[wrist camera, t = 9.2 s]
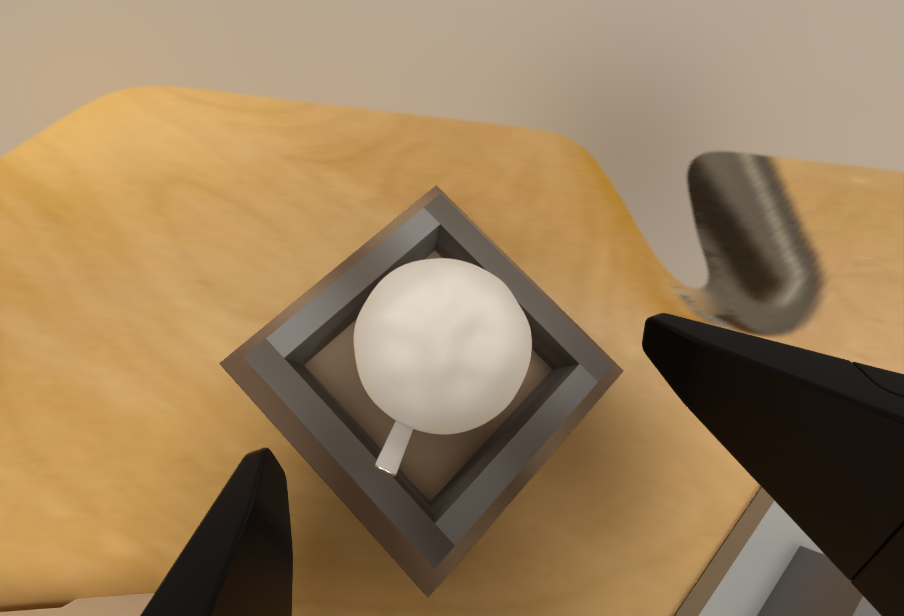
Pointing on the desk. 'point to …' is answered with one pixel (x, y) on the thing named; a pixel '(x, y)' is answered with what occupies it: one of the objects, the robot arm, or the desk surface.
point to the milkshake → (440, 350)
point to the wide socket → (427, 455)
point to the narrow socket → (772, 573)
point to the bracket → (94, 607)
